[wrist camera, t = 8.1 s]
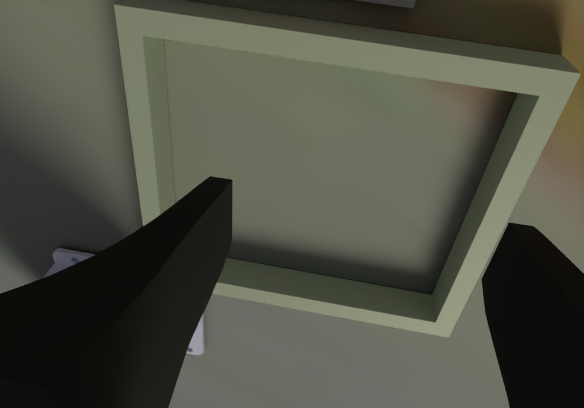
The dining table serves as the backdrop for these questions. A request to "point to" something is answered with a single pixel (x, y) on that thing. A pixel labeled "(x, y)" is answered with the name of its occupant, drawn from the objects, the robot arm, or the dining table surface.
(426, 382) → the dining table surface
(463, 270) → the pale green square frame
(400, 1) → the slate tile
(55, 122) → the dining table surface
